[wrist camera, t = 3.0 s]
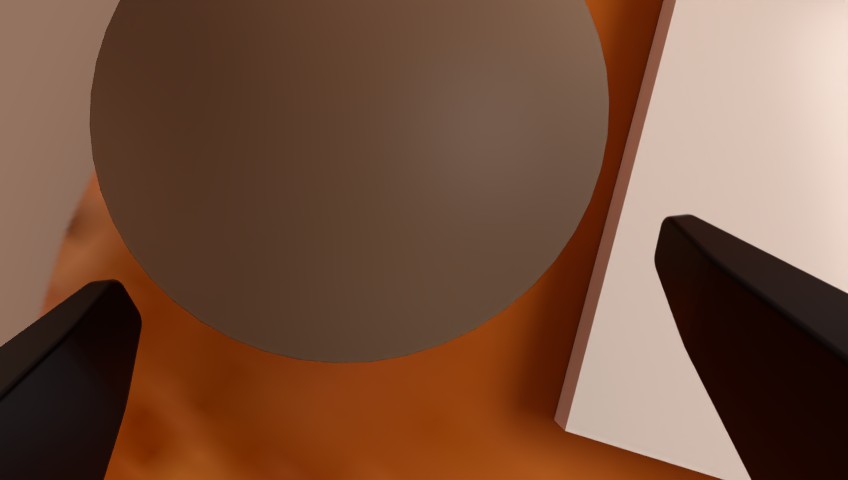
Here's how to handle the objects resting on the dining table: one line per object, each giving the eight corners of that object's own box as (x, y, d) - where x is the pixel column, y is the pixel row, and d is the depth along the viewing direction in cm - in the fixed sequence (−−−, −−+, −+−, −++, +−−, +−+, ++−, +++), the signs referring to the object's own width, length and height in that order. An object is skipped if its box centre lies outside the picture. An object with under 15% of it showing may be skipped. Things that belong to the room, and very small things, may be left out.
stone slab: (935, 537, 17) (984, 560, 15) (553, 420, 17) (565, 431, 16) (1020, 58, 19) (1071, 36, 17) (671, -32, 19) (691, -61, 18)
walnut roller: (460, 342, 18) (529, 432, 5) (314, 298, 18) (11, 273, 5) (502, 196, 18) (664, -68, 5) (359, 156, 19) (190, -190, 6)
